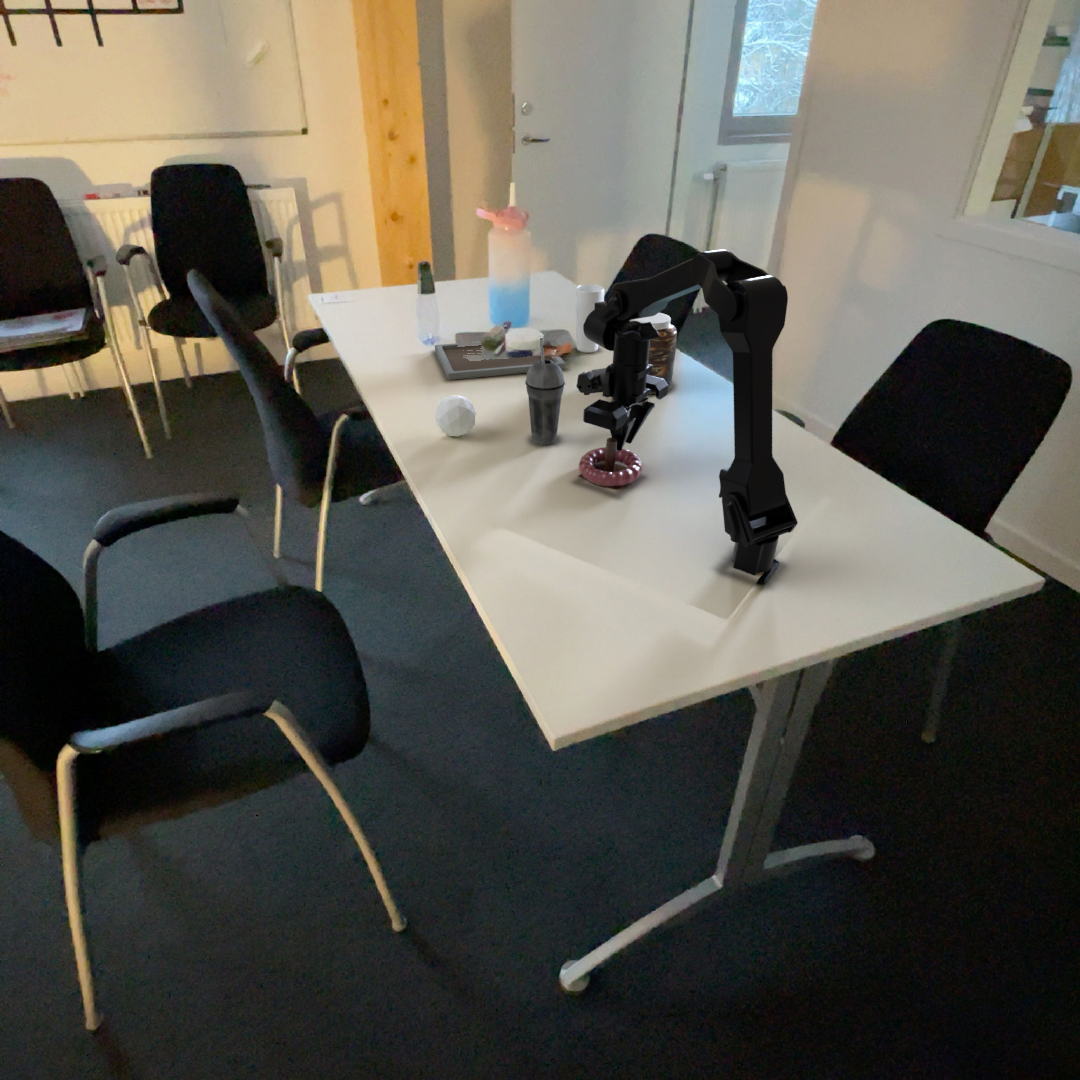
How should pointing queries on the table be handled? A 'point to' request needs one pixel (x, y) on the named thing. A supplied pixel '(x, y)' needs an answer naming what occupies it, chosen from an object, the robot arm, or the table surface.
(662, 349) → the jar
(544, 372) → the beverage cup
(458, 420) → the geometric ball
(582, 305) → the drinking glass
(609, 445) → the stand
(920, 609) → the table surface
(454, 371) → the gray tray
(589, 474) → the ring
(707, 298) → the robot arm
